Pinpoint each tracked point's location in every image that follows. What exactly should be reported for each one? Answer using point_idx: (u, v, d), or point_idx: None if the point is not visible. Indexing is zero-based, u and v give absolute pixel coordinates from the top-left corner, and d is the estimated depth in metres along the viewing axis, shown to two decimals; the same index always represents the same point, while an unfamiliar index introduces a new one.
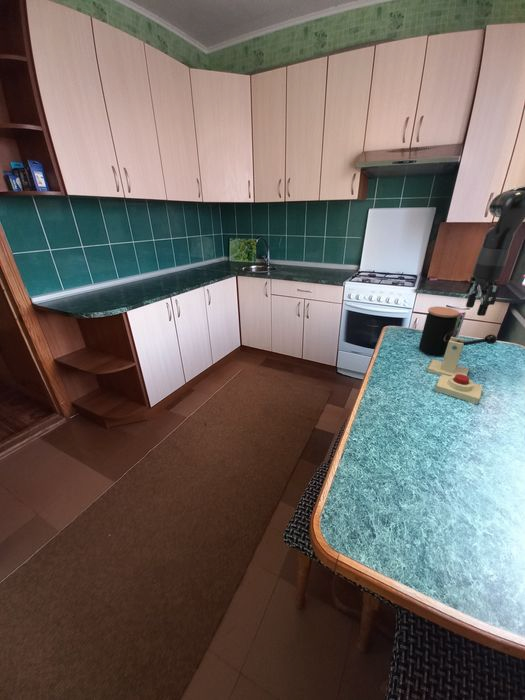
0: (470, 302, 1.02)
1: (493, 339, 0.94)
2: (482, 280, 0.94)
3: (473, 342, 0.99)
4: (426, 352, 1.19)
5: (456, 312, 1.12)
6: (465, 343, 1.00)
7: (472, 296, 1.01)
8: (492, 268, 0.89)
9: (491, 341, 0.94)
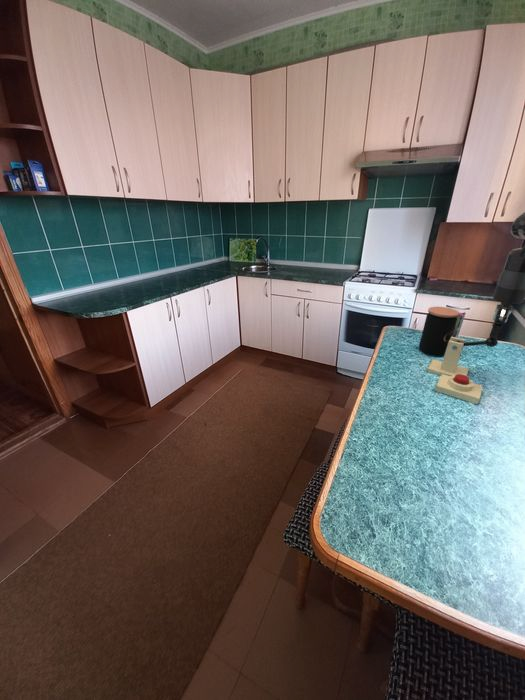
0: None
1: (494, 342, 0.94)
2: None
3: (473, 343, 0.99)
4: (426, 352, 1.19)
5: (456, 312, 1.12)
6: (465, 344, 1.00)
7: None
8: (507, 291, 0.86)
9: (492, 344, 0.95)
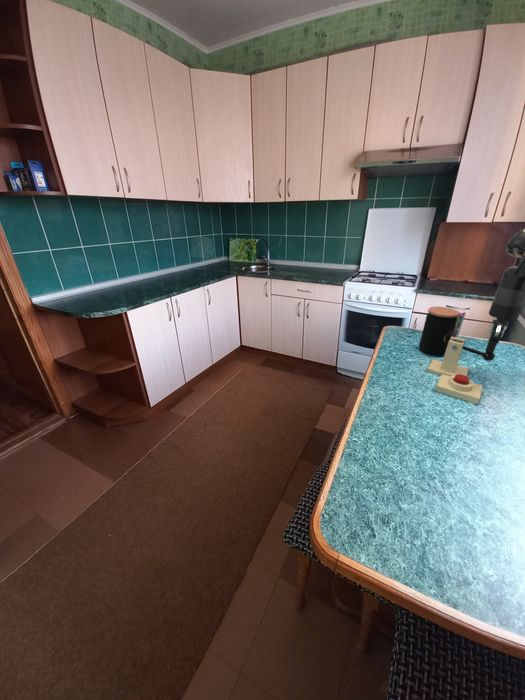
0: None
1: (491, 358, 0.96)
2: None
3: (472, 351, 1.00)
4: (426, 352, 1.19)
5: (456, 312, 1.12)
6: (465, 348, 1.01)
7: None
8: (502, 308, 0.88)
9: (488, 358, 0.97)
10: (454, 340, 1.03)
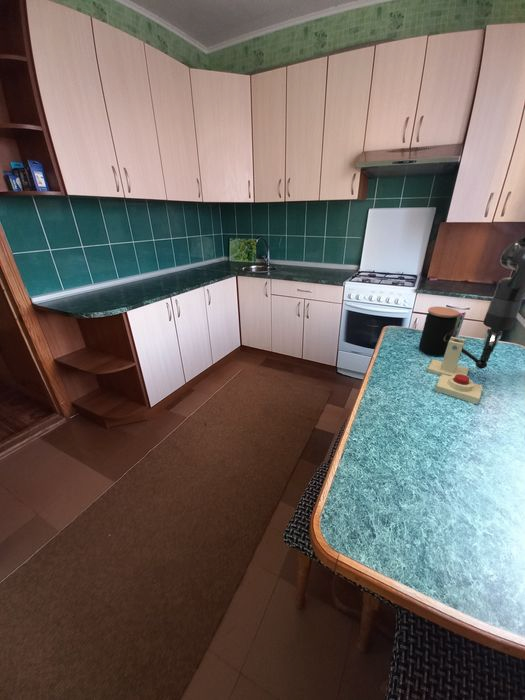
0: None
1: (483, 367, 0.99)
2: None
3: (469, 355, 1.01)
4: (426, 352, 1.19)
5: (456, 312, 1.12)
6: (463, 350, 1.01)
7: None
8: (496, 318, 0.90)
9: (480, 366, 0.99)
10: (456, 340, 1.03)
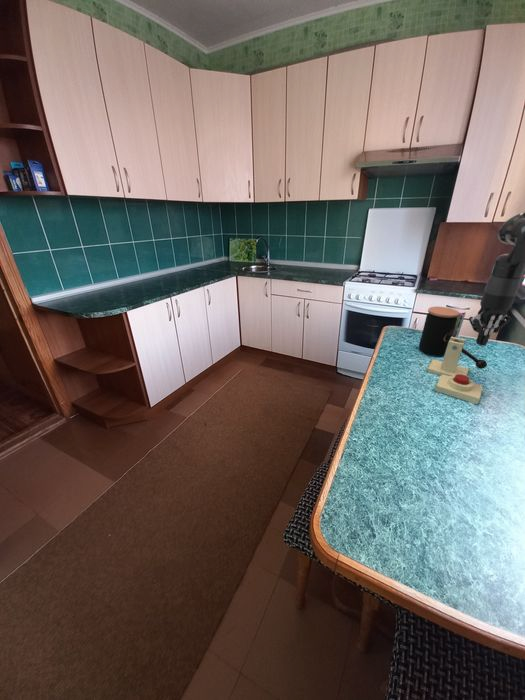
0: None
1: (483, 367, 0.99)
2: None
3: (469, 355, 1.01)
4: (426, 352, 1.19)
5: (456, 312, 1.12)
6: (463, 350, 1.01)
7: None
8: (485, 295, 0.86)
9: (480, 366, 0.99)
10: (456, 340, 1.03)
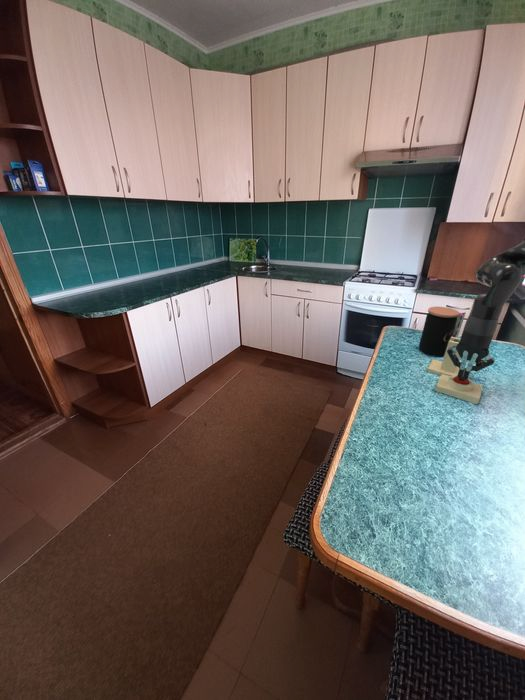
0: None
1: None
2: None
3: None
4: (426, 352, 1.19)
5: (456, 312, 1.12)
6: None
7: None
8: None
9: None
10: (456, 340, 1.03)
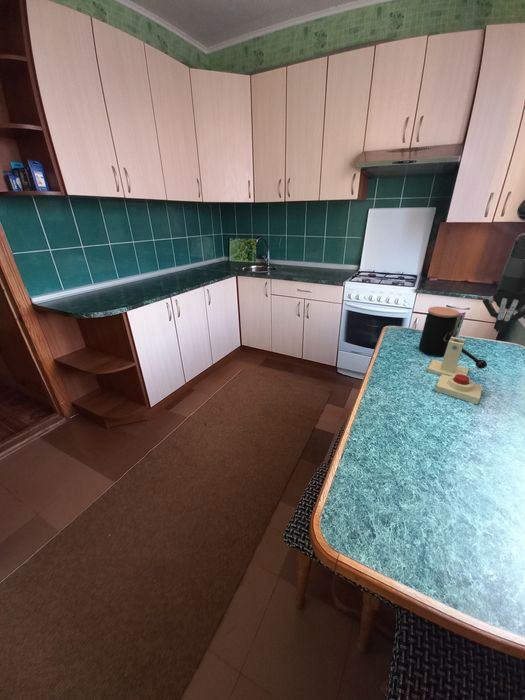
0: None
1: (483, 367, 0.99)
2: None
3: (469, 355, 1.01)
4: (426, 352, 1.19)
5: (456, 312, 1.12)
6: (463, 350, 1.01)
7: None
8: None
9: (480, 366, 0.99)
10: (456, 340, 1.03)
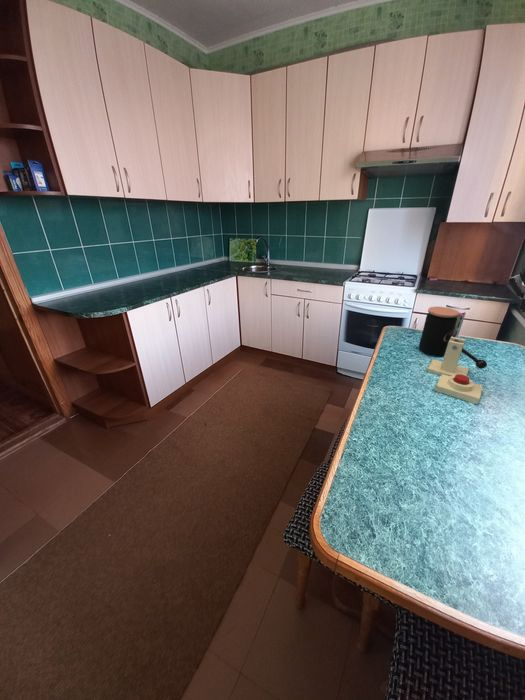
0: None
1: (483, 367, 0.99)
2: None
3: (469, 355, 1.01)
4: (426, 352, 1.19)
5: (456, 312, 1.12)
6: (463, 350, 1.01)
7: None
8: None
9: (480, 366, 0.99)
10: (456, 340, 1.03)
